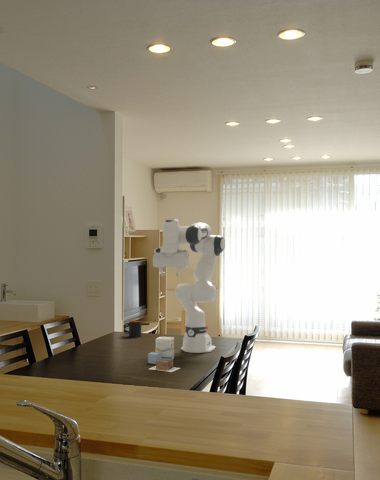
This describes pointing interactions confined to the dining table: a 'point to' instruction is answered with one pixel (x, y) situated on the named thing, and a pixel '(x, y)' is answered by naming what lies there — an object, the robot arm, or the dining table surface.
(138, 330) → the mug
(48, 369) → the dining table surface
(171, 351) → the ink box
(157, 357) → the cube
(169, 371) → the letter
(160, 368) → the walnut block
